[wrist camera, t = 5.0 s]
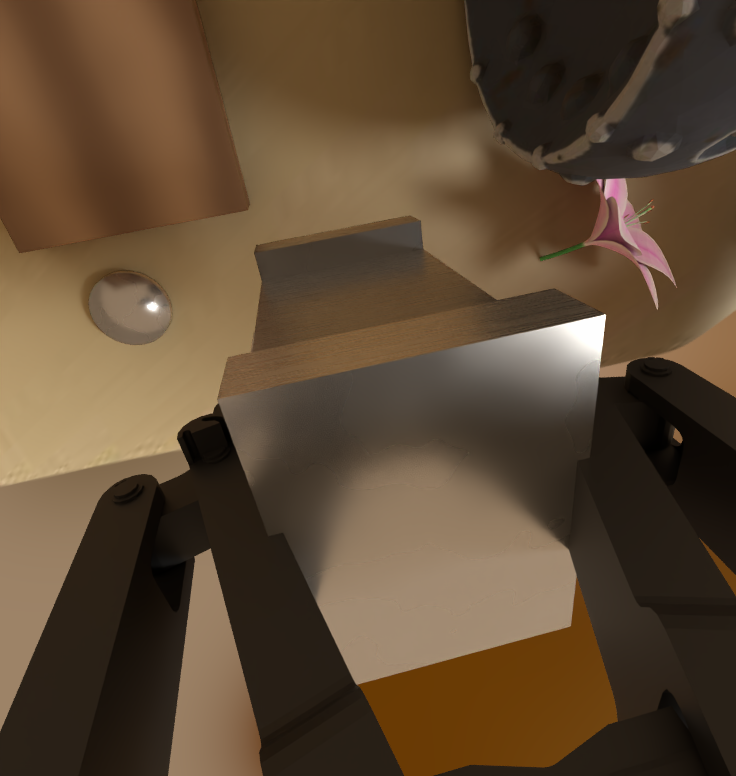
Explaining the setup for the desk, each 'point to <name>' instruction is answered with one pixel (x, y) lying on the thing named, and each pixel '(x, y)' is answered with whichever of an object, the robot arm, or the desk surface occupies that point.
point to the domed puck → (130, 307)
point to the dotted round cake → (607, 82)
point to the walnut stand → (109, 121)
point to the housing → (414, 443)
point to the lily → (624, 233)
